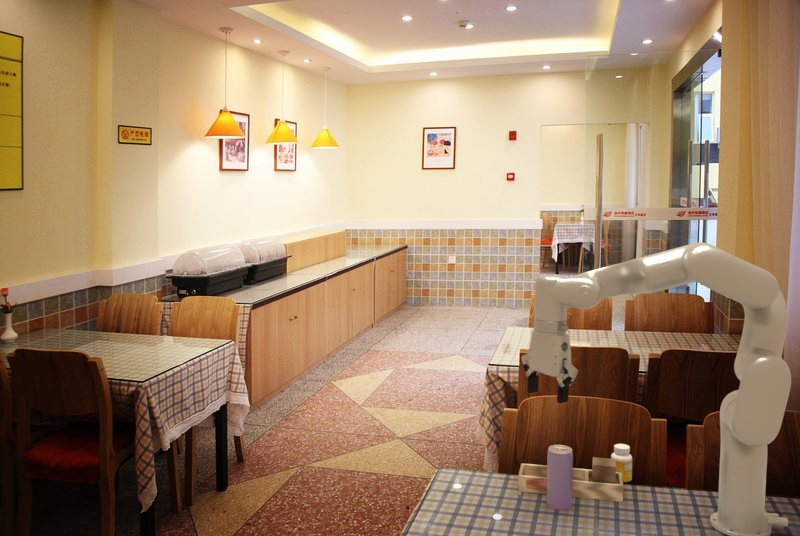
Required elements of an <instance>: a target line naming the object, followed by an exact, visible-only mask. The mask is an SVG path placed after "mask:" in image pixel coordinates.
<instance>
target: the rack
mask: <svg viewBox="0 0 800 536" xmlns="http://www.w3.org/2000/svg"><path fill="white" fill-rule="evenodd" d="M519 467H520V468H519V471H518V476H517V495H518V496H522V493H530V494H537V495H538V494H540V495H547V464H546V465H543V464H533V463H522V462H521V463H520V466H519ZM572 498H577V499H578V498H579V499H588V500H599V501H608V502H609V501H611V502H617V503H618V502H620V503H624V482H623V480H622V473H621V472H616V484H610V483H599V482H592V469H587V468H577V467H573V473H572Z"/></svg>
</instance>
